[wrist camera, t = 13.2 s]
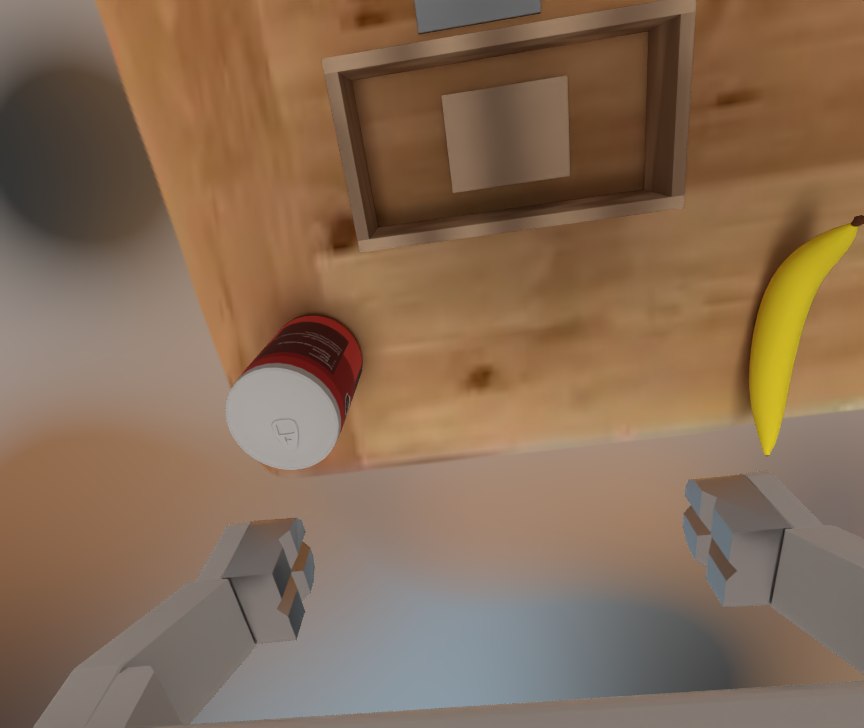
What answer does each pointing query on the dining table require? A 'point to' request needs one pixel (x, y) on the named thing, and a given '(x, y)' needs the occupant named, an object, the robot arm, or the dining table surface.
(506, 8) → the mat
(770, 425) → the banana
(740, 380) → the dining table surface
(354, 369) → the canned food
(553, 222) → the crate
